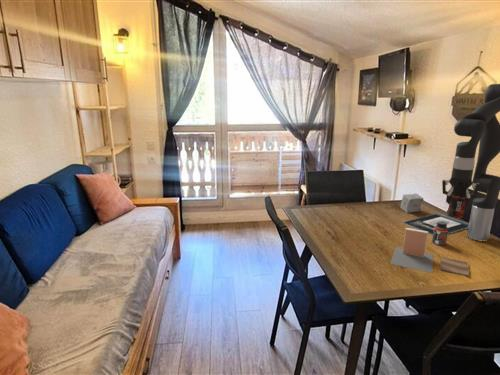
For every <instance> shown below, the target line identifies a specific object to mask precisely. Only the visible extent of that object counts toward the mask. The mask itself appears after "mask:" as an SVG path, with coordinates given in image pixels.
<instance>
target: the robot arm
mask: <svg viewBox="0 0 500 375" xmlns="http://www.w3.org/2000/svg"><path fill="white" fill-rule="evenodd" d="M499 113H500V83H491V84H489V85H488V86H487V88H486V89H485V94H484V103H482V104H481V105H479V106H478V107H476V108H475V109H474V110H473V111H472V112H471V113H469V114H467V115H465V116H463V117H461V118H460V119H458V120H457V121H456V122H455V124H454V127H453V131H454V133H455V134H456V135H457V136H459V137H469V138H470V139H469V140H467V141H462V142H458V143H457V144H456V150H455V155H454V159H453V163H452V169H451V176H450V179H442V181H441V183H442V185H441V186H442V194H443V195H445V196H446V198H445V202H446V204H447V205H449V203H450V197H451V193H452V192H453V187H454V186H453V183H456V184H459V183H461V184H468V189H467V191H466V193H467V197H466V203H465V207H467V206H470V201H471V199H472V198H474V199H473V200H472V205H471V212H470V216H469V221H468V223H469V226H468V229H467V233H466V238H468V237H469V238H468V239H470V238H471V239H470V240H472V239H474V240H473V241H475V240H482V241H483V240H488V241H489V238H490V232H491V228H492V224H493V223H492V222H493V219H494V215H495V214H494V213H495V208H496V204H497V202H498V200H499V194H500V176H498V175H494V174H489V173H487V169H488V167H489V164H490V163H491V162H492V161H493V160H494V159H495V158H496V157H497V156H498V155H499V154H500V121H499V119H498V118H497V114H499ZM478 145H479V146H478ZM478 147H479V148H478ZM477 148H478V154H477V158H476V153H477ZM476 159H477V160H476ZM475 160H476V161H475ZM475 162H476V164H475ZM475 165H476V166H475ZM449 184H450V186H451V187H450V188H449V190H447V188H446V187H447V186H448V185H449ZM452 186H453V187H452ZM470 187H472V190H473V191H472V193H470V191H469V188H470ZM478 192H479V193H484V194H485V197H478V198H476V197H477V194H478ZM482 241H481V242H482Z"/></svg>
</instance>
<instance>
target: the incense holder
mask: <svg viewBox="0 0 500 375" xmlns="http://www.w3.org/2000/svg"><path fill="white" fill-rule="evenodd" d="M422 202H424V197H422V196H421V195H419V194H417V193H410V194H407V193H406V194H403V195H402V199H401V203H400V209H402V210H403V211H404V212H405V213H406V214H409V213H419V212H421V210H422V208H421V207H422Z"/></svg>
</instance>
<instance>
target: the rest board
mask: <svg viewBox="0 0 500 375" xmlns="http://www.w3.org/2000/svg"><path fill="white" fill-rule="evenodd" d="M468 265H469V264H468V262H467V261H464V260H463V261H462V260H458V259H457V260H456V259H453V258H452V259H451V258H448V257H442V256H441V257H440V271H441V272H447V273H451V274H456V275H460V276H464V277H465V278H469V277H470V272H469V271H470V270H469V266H468Z"/></svg>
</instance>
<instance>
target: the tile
mask: <svg viewBox="0 0 500 375" xmlns="http://www.w3.org/2000/svg"><path fill="white" fill-rule="evenodd" d="M428 235H429V234H428V231H422V230H418V229H416V228H411V227H410V228H409V227H405V231H404V238H403V244H402V245H403V246H402V249H403V252H402V253H405V254H410V255H415V256H420V257H424V255H425V253H426V249H427V248H426V247H427V240H428Z"/></svg>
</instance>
